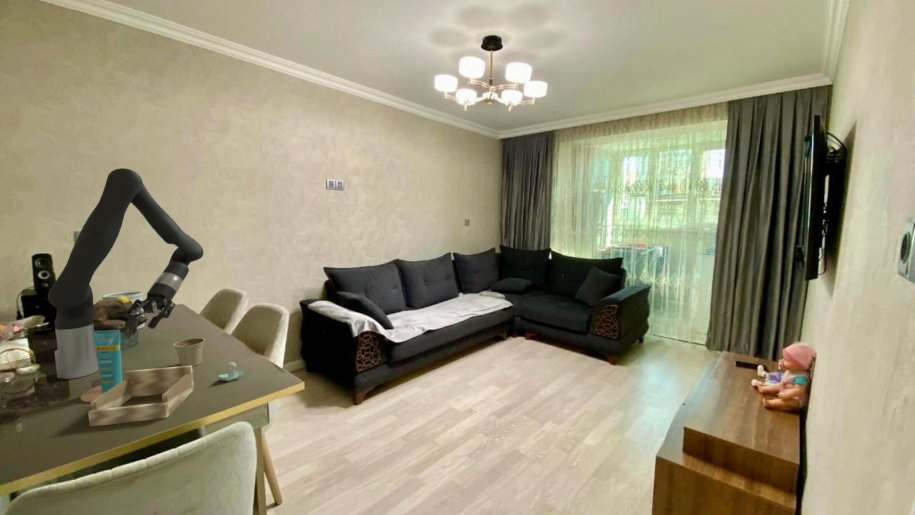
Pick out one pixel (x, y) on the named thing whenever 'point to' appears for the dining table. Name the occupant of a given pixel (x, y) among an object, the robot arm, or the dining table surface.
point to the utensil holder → (130, 294)
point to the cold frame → (143, 383)
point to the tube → (108, 358)
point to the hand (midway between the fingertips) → (138, 327)
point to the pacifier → (231, 372)
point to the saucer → (92, 394)
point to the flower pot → (190, 351)
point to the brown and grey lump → (117, 320)
